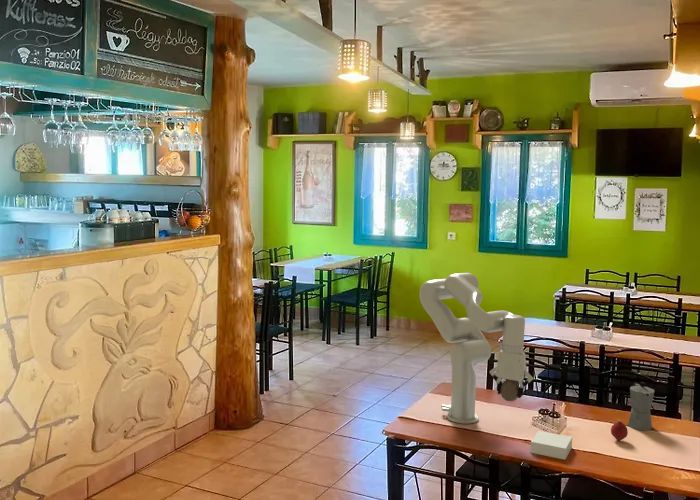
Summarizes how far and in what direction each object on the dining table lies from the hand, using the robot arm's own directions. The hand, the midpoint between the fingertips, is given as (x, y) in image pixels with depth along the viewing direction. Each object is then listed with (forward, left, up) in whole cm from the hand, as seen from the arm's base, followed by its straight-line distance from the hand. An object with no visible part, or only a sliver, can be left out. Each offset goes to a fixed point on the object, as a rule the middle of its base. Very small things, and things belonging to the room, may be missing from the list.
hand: (509, 394), depth 248 cm
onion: (+37, +19, -17) cm, 44 cm away
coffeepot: (+42, +40, -17) cm, 60 cm away
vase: (0, 0, -2) cm, 2 cm away
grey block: (+17, -3, -17) cm, 24 cm away
